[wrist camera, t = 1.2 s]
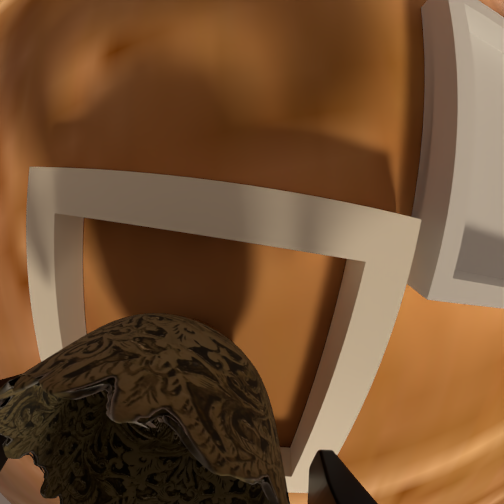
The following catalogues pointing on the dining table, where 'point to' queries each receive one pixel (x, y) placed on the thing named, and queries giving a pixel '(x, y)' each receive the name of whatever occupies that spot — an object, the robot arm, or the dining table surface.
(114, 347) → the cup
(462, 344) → the dining table surface
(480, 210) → the grey tray
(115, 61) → the dining table surface
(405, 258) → the white flat square frame
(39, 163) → the dining table surface
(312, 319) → the dining table surface
